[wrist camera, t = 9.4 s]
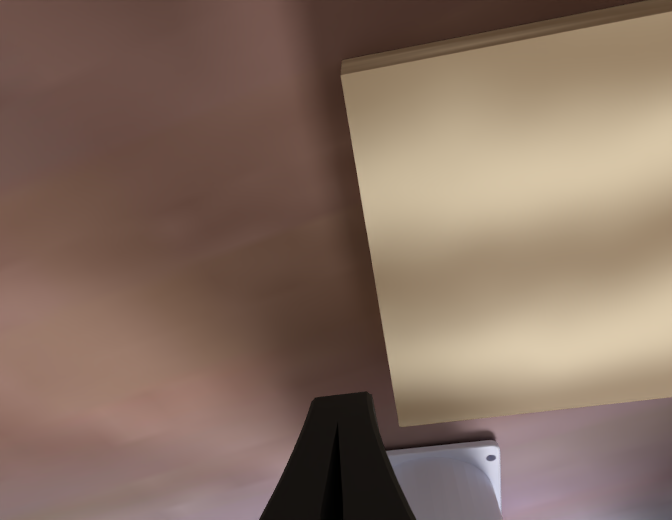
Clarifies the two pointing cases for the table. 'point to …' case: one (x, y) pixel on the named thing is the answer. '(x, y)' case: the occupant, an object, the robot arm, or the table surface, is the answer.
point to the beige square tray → (521, 213)
